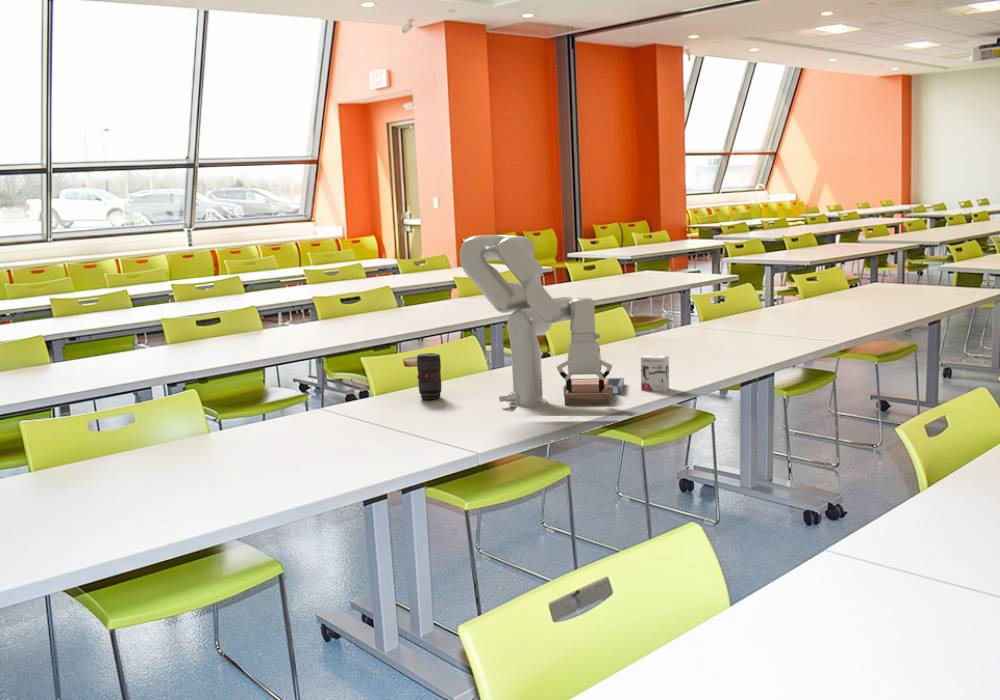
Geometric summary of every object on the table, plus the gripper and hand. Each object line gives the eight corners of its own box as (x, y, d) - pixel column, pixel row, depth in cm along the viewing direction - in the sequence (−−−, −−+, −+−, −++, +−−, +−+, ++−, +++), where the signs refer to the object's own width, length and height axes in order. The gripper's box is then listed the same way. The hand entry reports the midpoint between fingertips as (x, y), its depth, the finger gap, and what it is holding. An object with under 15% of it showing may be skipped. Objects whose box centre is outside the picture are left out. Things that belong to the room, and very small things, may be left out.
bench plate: (609, 404, 282) (608, 393, 281) (564, 405, 285) (564, 394, 284) (613, 395, 297) (612, 384, 297) (571, 395, 300) (570, 385, 300)
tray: (620, 394, 297) (620, 386, 296) (563, 395, 301) (563, 386, 300) (624, 386, 312) (623, 377, 312) (569, 387, 316) (569, 378, 316)
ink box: (640, 391, 302) (639, 356, 300) (645, 388, 306) (644, 354, 304) (665, 392, 297) (664, 357, 296) (669, 389, 302) (669, 355, 300)
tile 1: (606, 391, 285) (606, 384, 284) (568, 392, 287) (568, 384, 287) (607, 389, 289) (607, 381, 288) (570, 389, 291) (570, 382, 291)
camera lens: (439, 399, 305) (436, 355, 303) (416, 399, 307) (413, 356, 305) (445, 395, 313) (442, 352, 311) (423, 395, 314) (420, 353, 312)
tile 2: (607, 388, 290) (607, 381, 289) (570, 389, 292) (570, 381, 292) (608, 386, 294) (608, 379, 293) (572, 387, 296) (572, 379, 296)
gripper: (612, 335, 280) (614, 389, 282) (557, 337, 283) (559, 390, 286) (610, 338, 272) (612, 394, 275) (553, 340, 276) (556, 394, 278)
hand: (585, 392), depth 280 cm, fingers open, 9 cm apart
